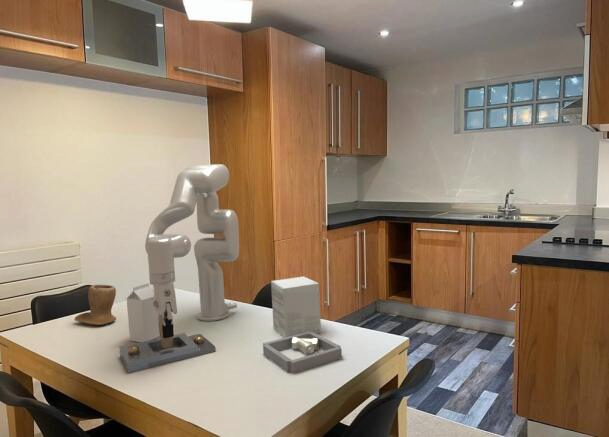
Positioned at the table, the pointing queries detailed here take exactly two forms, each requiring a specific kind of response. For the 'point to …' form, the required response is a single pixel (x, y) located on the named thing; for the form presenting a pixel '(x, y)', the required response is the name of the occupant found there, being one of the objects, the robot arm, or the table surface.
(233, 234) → the robot arm
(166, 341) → the handle
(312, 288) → the supplement box
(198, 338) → the lower end link
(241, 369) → the table surface
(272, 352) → the parts fence
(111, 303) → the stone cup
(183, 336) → the upper end link
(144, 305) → the milk carton
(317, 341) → the pipe fitting
